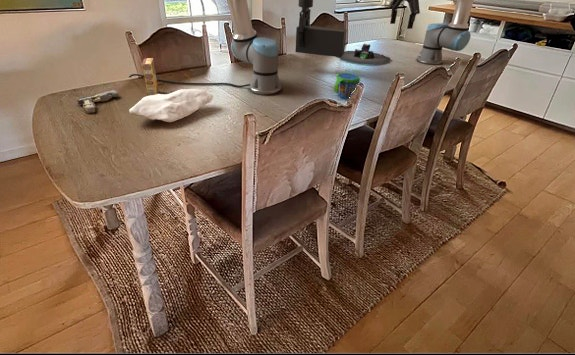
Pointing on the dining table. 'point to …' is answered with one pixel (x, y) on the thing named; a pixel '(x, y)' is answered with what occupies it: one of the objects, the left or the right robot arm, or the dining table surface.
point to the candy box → (150, 76)
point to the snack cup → (346, 84)
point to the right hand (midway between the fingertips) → (400, 26)
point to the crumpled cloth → (171, 104)
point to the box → (322, 41)
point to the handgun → (95, 100)
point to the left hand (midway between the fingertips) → (303, 44)
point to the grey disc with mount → (364, 56)
